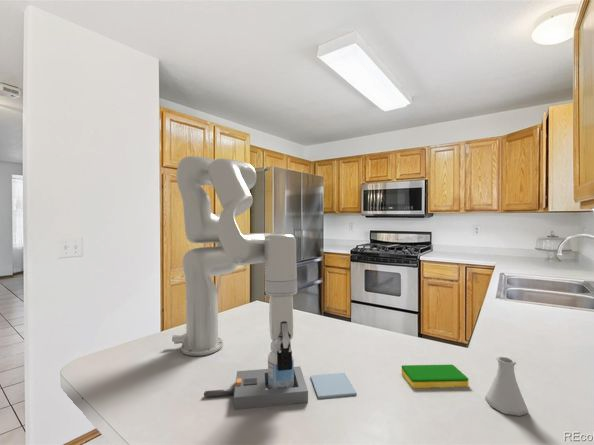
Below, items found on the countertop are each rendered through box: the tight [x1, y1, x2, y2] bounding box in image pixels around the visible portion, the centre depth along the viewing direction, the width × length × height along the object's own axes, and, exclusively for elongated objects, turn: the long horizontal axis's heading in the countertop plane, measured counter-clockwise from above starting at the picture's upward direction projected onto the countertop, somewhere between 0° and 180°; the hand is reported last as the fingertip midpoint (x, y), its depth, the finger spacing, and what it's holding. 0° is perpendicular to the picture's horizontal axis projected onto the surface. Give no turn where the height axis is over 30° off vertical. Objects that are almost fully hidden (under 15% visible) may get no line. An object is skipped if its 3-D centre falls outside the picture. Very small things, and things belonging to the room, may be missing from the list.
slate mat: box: [310, 372, 358, 399], centre depth 71 cm, size 9×9×1 cm
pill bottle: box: [267, 340, 295, 390], centre depth 69 cm, size 6×6×11 cm
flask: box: [484, 356, 529, 417], centre depth 63 cm, size 7×7×10 cm
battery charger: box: [203, 365, 309, 410], centre depth 68 cm, size 23×11×3 cm, turn 98°
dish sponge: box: [401, 364, 469, 389], centre depth 73 cm, size 7×14×2 cm, turn 91°
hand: (282, 359), depth 68 cm, fingers open, 9 cm apart
